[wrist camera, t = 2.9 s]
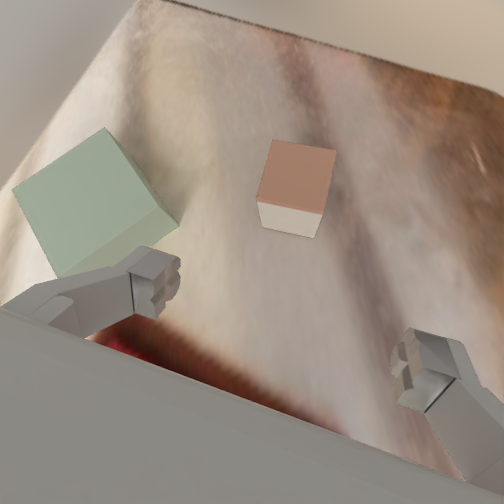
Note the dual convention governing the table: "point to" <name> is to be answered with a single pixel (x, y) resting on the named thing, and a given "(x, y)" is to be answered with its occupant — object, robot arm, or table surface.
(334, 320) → the table surface
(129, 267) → the robot arm
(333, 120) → the table surface
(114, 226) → the green box
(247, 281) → the table surface
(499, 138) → the table surface
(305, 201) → the white brown-topped block
